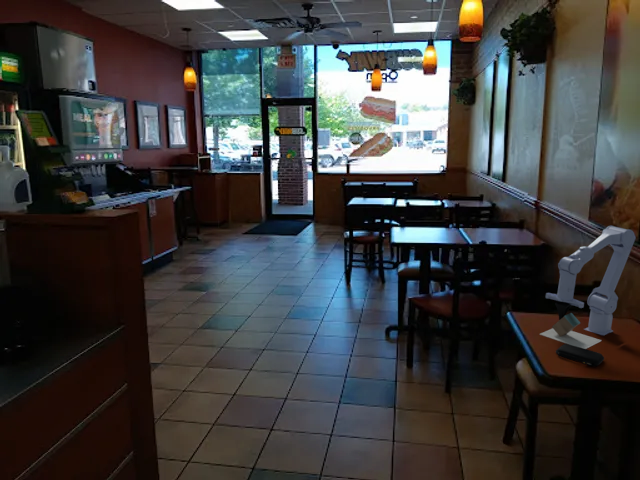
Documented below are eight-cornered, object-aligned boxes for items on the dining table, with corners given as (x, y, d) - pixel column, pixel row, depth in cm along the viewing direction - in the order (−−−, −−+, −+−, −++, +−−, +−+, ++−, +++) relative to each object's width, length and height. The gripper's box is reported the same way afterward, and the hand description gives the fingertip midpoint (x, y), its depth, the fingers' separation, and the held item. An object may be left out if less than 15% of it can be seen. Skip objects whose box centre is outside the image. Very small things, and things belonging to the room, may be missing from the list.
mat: (557, 327, 214) (557, 326, 214) (601, 341, 201) (602, 340, 200) (539, 335, 205) (539, 334, 205) (584, 350, 191) (584, 349, 191)
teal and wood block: (557, 324, 208) (571, 312, 203) (566, 334, 206) (580, 322, 201) (551, 326, 205) (565, 315, 200) (560, 336, 203) (574, 325, 198)
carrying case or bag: (552, 357, 186) (596, 370, 176) (553, 349, 185) (597, 362, 176) (562, 349, 194) (604, 361, 184) (563, 341, 193) (606, 353, 183)
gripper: (543, 284, 204) (539, 316, 207) (580, 293, 193) (574, 327, 196) (552, 281, 209) (547, 312, 212) (588, 291, 198) (583, 324, 200)
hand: (561, 319), depth 204 cm, fingers closed, pressing on teal and wood block
